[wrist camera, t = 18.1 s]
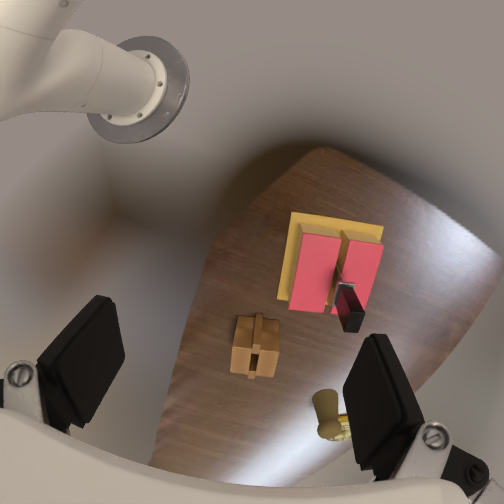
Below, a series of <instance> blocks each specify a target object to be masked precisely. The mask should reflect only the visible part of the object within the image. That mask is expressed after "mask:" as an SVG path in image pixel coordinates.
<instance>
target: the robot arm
mask: <svg viewBox="0 0 504 504" xmlns="http://www.w3.org/2000/svg"><path fill="white" fill-rule="evenodd" d="M83 1H84V0H0V121H3V120H6V119H9V118H12V117H15V116H18V115H22V114H27V113H33V112H78V113H95V114H101V116H102V117H103V118H104V119H105V120H106V121H108V122H110V123H111V124H115V125H120V126H128V125H133V124H137V123H139V122H141V121H143V120H144V119H146V118H147V117H149V116H150V115H151V114H152V113H153V112H154V111H155V110H156V109H157V107H158V106H159V105H160V103H161V101H162V99H163V98H164V95H165V92H166V88H167V72H166V68H165V66H164V64H163V62H162V61H161V60H160V59H159V58H158V57H157V56H155V55H154V54H152V53H150V52H147V51H144V50H134V51H129V52H127V51H125V50H123V49H121V48H119V47H117V46H115V45H113V44H111V43H109V42H107V41H105V40H103V39H101V38H99V37H97V36H94V35H92V34H90V33H88V32H85V31H82V30H74V29H72V30H62V28H63V27H64V26H65V24H66V23H67V21H68V20H69V19H70V17H71V16H72V15H73V13H74V12H75V11H76V9H77V8H78V7H79V6H80V5H81V3H82V2H83ZM61 30H62V31H61ZM149 57H150V58H149ZM161 84H163V85H162V86H161ZM141 115H142V117H141ZM111 117H112V118H111ZM124 359H125V352H124V347H123V344H122V338H121V334H120V328H119V323H118V317H117V311H116V306H115V303H114V302H112V300H111V298H109V297H105V296H100V295H96V296H94V298H93V299H92V300H91V301H90V302H89V303H88V304H87V305H86V306H85V307H84V308H83V309H82V310H81V311H80V312H79V313H78V314H77V315H76V316H75V318H74V319H73V320H72V321H71V322H70V323H69V324H68V325H67V326H66V327H65V328H64V329H63V330H62V332H61V333H60V334H59V335H58V336H57V337H56V338H55V339H54V341H53V342H52V343H51V344H50V345H49V346H48V347H47V349H46V350H45V351H44V352H43V353H42V354H41V356H40V357H39V358H38V359H37V362H38V363H37V364H36V366H35V365H34V364H33V363H31V362H30V361H26V360H20V361H16V362H14V363H12V364H11V365H10V366H9V367H8V368H7V369H6V371H5V374H4V379H0V504H504V489H503V488H502V487H501V486H500V485H499V484H498V483H497V482H496V481H495V480H494V479H493V478H492V479H491V480H489V469H488V467H487V465H486V464H485V462H483V461H482V460H481V459H478V458H477V457H475V456H473V455H471V454H469V453H467V452H465V451H463V450H461V449H459V448H458V447H456V446H454V445H452V443H453V436H452V433H451V431H450V429H449V428H448V427H447V426H446V425H445V424H443V423H442V422H439V421H428V422H425V421H424V418H423V415H422V412H421V410H420V407H419V405H418V402H417V400H416V398H415V395H414V393H413V391H412V388H411V386H410V384H409V381H408V379H407V377H406V375H405V372H404V370H403V368H402V366H401V364H400V361H399V359H398V357H397V355H396V353H395V351H394V349H393V347H392V345H391V343H390V340H389V338H388V336H387V335H386V334H371V335H370V336H369V337H366V338H365V339H364V342H363V344H362V346H361V349H360V351H359V353H358V355H357V358H356V360H355V362H354V364H353V367H352V369H351V371H350V373H349V375H348V377H347V379H346V381H345V383H344V386H343V397H344V401H345V406H346V411H347V416H348V421H349V427H350V432H351V437H352V443H353V448H354V454H355V460H356V463H357V464H360V467H361V471H363V470H371V469H373V473H374V477H373V478H372V480H371V482H369V483H363V484H353V485H343V486H328V487H307V488H306V487H303V488H302V487H300V488H299V487H298V488H297V487H294V488H293V487H265V486H251V485H241V484H232V483H225V482H218V481H211V480H206V479H200V478H195V477H190V476H185V475H181V474H176V473H172V472H168V471H164V470H160V469H157V468H153V467H150V466H146V465H143V464H140V463H137V462H134V461H131V460H128V459H124V458H122V457H119V456H116V455H113V454H111V453H108V452H106V451H103V450H101V449H98V448H96V447H93V446H91V445H89V444H87V443H84V442H82V441H79V440H77V439H75V438H73V437H71V435H70V431H69V426H70V424H71V423H72V424H74V425H76V426H78V427H80V428H83V427H84V425H85V423H89V422H90V421H91V419H92V417H93V416H94V414H95V412H96V410H97V408H98V406H99V405H100V403H101V401H102V399H103V397H104V396H105V394H106V392H107V390H108V388H109V386H110V385H111V383H112V381H113V380H114V378H115V376H116V374H117V372H118V371H119V369H120V367H121V366H122V364H123V362H124Z"/></svg>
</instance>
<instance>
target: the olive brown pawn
mask: <svg viewBox="0 0 504 504" xmlns="http://www.w3.org/2000/svg"><path fill="white" fill-rule="evenodd" d="M312 401H313V404H314V408H315V411H316V415H317V418H318V422H319V425H318V428H317V432H318V435H319V436H320V437H321V438H325V439H330V438H334V437H336V436H338V435H339V434H340V433H341V431H342V425H341V423H340V421H338V393H337V392H336V391H335V390H332V389H326V390H321V391H319V392H317V393H315V394H314V395H313V397H312Z"/></svg>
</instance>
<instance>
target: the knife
mask: <svg viewBox="0 0 504 504" xmlns="http://www.w3.org/2000/svg"><path fill="white" fill-rule="evenodd" d="M331 283H332V286H333V288H334V291H335V293H334V296H333V300H332V303H331V305H332V306H333V307H336V309H337V312H338V315H339V318H340V321H341V324H342V327H343V330H344V332H351V333H358V332H359V329H360V326H361V324H362V321H363V318H364V316H365V312H364V309H363V307H362V305H361V303H360V301H359V299H358V297H357V295H356V293H355V291H354V288H355V285H356V284H355V283H353V282H346V281H345V279H344V277H343V275H342V273H341V271H340V269H339V267H338V265H337V263H336V266H335V270H334V274H333V278H332V282H331Z"/></svg>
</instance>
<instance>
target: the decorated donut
mask: <svg viewBox="0 0 504 504" xmlns="http://www.w3.org/2000/svg"><path fill="white" fill-rule="evenodd" d="M338 421H340V423H341V425H342V431H341V433H340V434H339V435H338V436H336V437H334V438H330V439H327V440H329V441H344V440H348V439H350V438H352V437H351V432H350V427H349V421H348V416H347V415H346V416H338Z"/></svg>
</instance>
